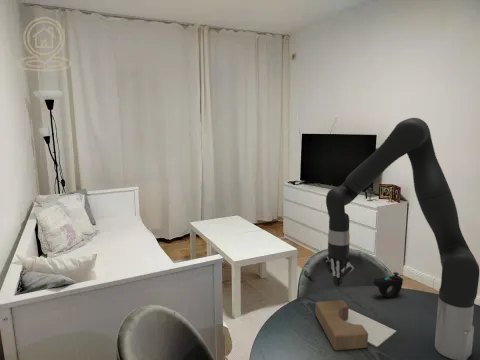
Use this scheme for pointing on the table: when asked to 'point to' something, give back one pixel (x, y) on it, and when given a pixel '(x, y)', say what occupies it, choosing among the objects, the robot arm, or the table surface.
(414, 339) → the table surface
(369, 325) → the mat
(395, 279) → the controller
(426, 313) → the table surface
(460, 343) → the robot arm
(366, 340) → the decorative block
